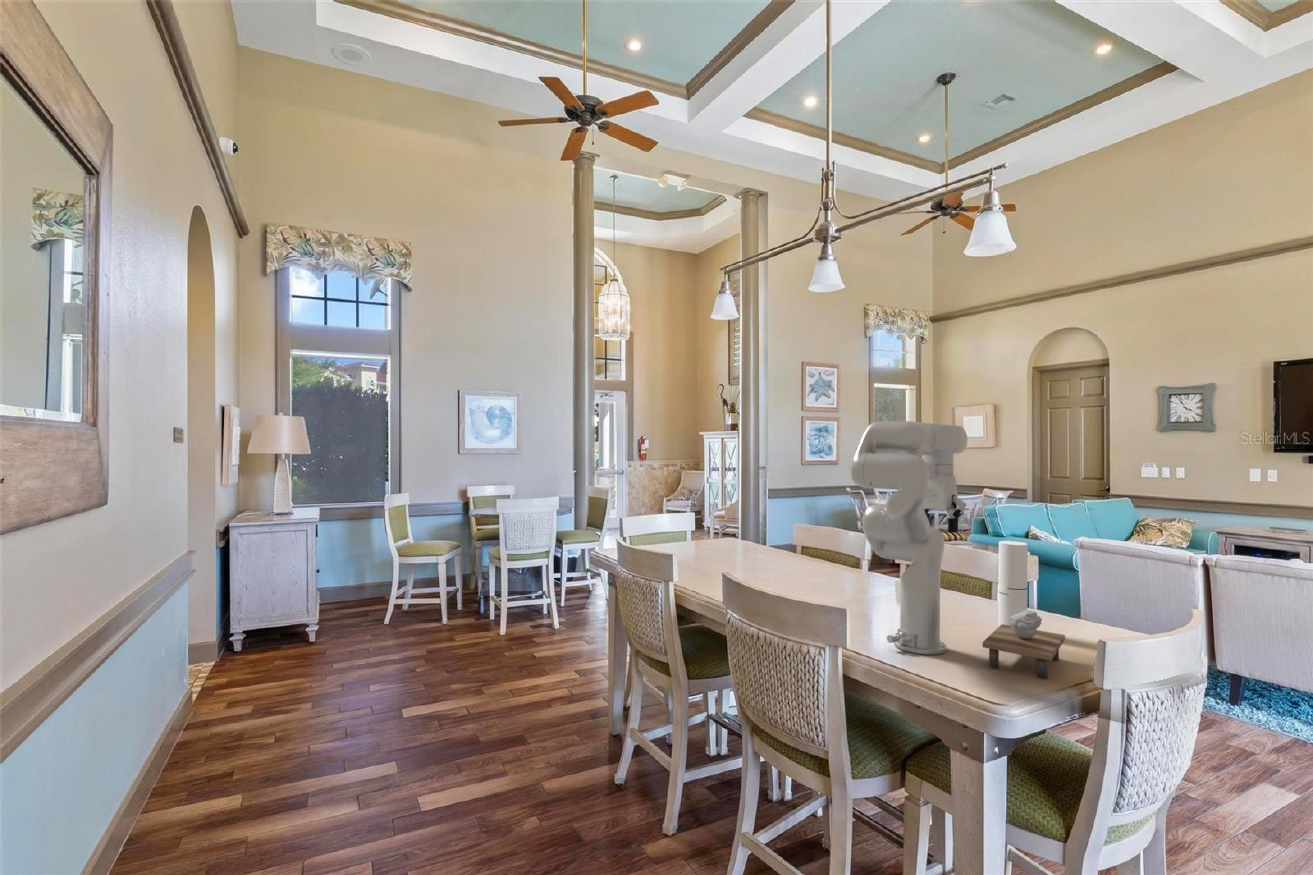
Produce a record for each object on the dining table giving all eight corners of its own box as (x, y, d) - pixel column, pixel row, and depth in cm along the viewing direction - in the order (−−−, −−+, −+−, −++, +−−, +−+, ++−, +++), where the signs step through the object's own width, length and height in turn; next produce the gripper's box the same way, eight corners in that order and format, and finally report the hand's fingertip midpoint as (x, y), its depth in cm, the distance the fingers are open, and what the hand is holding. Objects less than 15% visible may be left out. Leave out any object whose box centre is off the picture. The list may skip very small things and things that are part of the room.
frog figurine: (1036, 644, 149) (1036, 615, 149) (1004, 637, 155) (1004, 608, 155) (1046, 640, 153) (1046, 611, 153) (1015, 632, 158) (1015, 604, 158)
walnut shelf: (1051, 682, 142) (1051, 655, 142) (982, 667, 151) (982, 642, 151) (1064, 659, 157) (1064, 635, 157) (1001, 647, 166) (1001, 624, 166)
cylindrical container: (1025, 636, 175) (1025, 546, 175) (996, 631, 180) (996, 543, 180) (1028, 630, 181) (1029, 542, 181) (1000, 625, 185) (1001, 540, 185)
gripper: (905, 469, 188) (905, 526, 188) (955, 472, 173) (954, 534, 173) (924, 468, 192) (923, 525, 191) (974, 471, 176) (974, 533, 176)
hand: (938, 530), depth 182 cm, fingers open, 9 cm apart
